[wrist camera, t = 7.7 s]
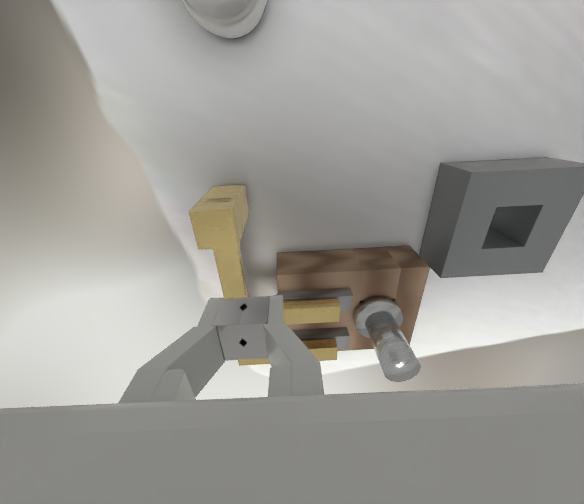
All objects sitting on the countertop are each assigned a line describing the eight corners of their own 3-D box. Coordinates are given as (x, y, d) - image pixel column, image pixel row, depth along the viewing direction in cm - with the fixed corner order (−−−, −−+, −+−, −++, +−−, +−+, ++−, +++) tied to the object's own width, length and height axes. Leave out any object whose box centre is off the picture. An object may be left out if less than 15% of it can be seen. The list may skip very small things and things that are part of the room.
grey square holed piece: (546, 157, 26) (598, 165, 22) (507, 251, 31) (542, 272, 27) (440, 162, 26) (471, 172, 21) (419, 255, 31) (440, 277, 27)
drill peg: (385, 270, 32) (437, 348, 21) (380, 302, 34) (425, 386, 24) (345, 272, 32) (376, 352, 21) (342, 304, 34) (370, 389, 24)
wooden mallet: (334, 180, 24) (352, 202, 18) (329, 325, 33) (339, 374, 27) (213, 186, 24) (188, 211, 17) (241, 330, 33) (231, 380, 26)
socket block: (409, 245, 30) (437, 274, 25) (394, 319, 36) (414, 356, 31) (277, 252, 30) (276, 283, 25) (283, 326, 36) (283, 363, 30)
